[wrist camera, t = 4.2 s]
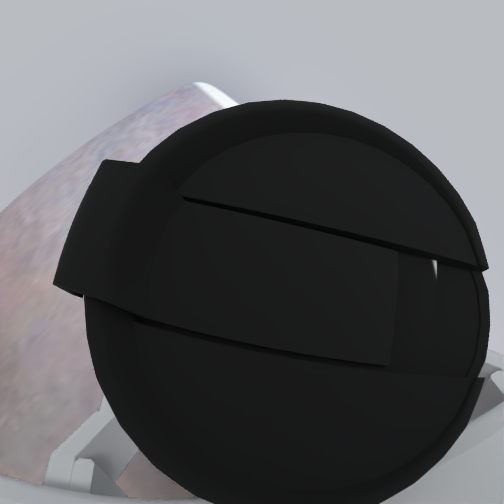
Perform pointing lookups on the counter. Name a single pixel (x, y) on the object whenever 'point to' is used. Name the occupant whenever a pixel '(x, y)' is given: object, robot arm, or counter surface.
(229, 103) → the counter surface
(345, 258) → the travel mug
